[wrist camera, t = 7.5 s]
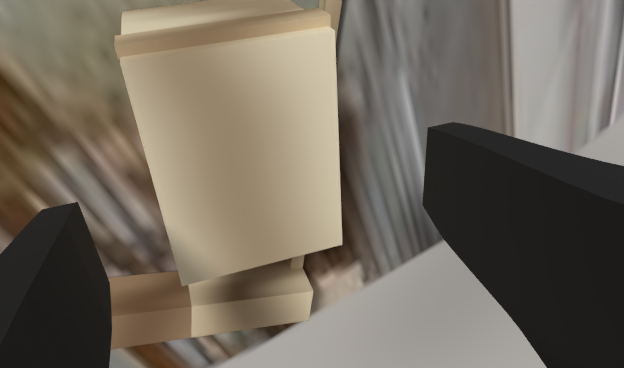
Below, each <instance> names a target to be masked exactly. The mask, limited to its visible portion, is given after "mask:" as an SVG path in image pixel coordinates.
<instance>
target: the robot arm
mask: <svg viewBox="0 0 624 368" xmlns="http://www.w3.org/2000/svg"><path fill="white" fill-rule="evenodd" d="M423 207H424V208H425V210H426V212H427V213H428V215H429V217H430V218H431V220H432V222H433V223H434V225H435V226H436V228H437V229H438V231H439V232H440V234H441V235H442V237H443V238H444V240H445V241H446V242H447V244H448V245H449V246H450V247H451V248H452V250H453V251H454V252H455V253H456V254H457V255H458V257H459V258H460V259H461V260H462V261H463V262H464V264H465V265H466V266H467V267H468V268H469V269H470V271H471V272H472V273H473V274H474V275H475V276H476V278H477V279H478V280H479V281H480V282H481V283H482V284H483V286H484V287H485V288H486V289H487V290H488V291H489V293H490V294H491V295H492V296H493V297H494V298H495V299H496V301H497V302H498V303H499V304H500V305H501V306H502V307H503V309H504V310H505V311H506V312H507V313H508V315H509V316H510V317H511V318H512V320H513V321H514V322H515V323H516V325H517V326H518V327H519V328H520V330H521V331H522V332H523V334H524V335H525V337H526V338H527V340H528V341H529V342H530V344H531V345H532V347H533V348H534V350H535V351H536V352H537V354H538V355H539V357H540V358H541V360H542V361H543V362H544V364H545V365H546V367H547V368H624V166H620V165H616V164H611V163H607V162H602V161H599V160H594V159H590V158H586V157H582V156H578V155H574V154H571V153H567V152H563V151H559V150H556V149H552V148H549V147H545V146H542V145H538V144H535V143H531V142H528V141H524V140H521V139H518V138H514V137H511V136H507V135H504V134H500V133H497V132H493V131H490V130H486V129H482V128H479V127H475V126H470V125H466V124H461V123H454V122H452V123H447V124H442V125H438V126H433V127H428V133H427V147H426V162H425V176H424V191H423ZM111 338H112V312H111V294H110V282H109V280H108V277H107V275H106V272H105V270H104V267H103V265H102V262H101V260H100V257H99V255H98V252H97V250H96V247H95V245H94V242H93V240H92V237H91V235H90V232H89V229H88V227H87V224H86V222H85V219H84V217H83V214H82V212H81V209H80V207H79V204H78V202H75V203H71V204H66V205H61V206H57V207H52V208H47V209H42V210H41V211H40V212H39V213H38V214H37V215H36V216H35V217H34V218H33V219H32V220H31V221H30V222H29V223H28V224H27V226H26V227H25V228H24V229H23V230H22V231H21V232H20V233H19V234H18V235H17V237H16V238H15V239H14V240H13V241H12V242H11V243H10V244H9V245H8V247H7V248H6V249H5V250H4V251H3V252H2V253H1V254H0V368H109V361H110V350H111Z"/></svg>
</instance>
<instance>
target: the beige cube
mask: <svg viewBox="0 0 624 368" xmlns="http://www.w3.org/2000/svg"><path fill="white" fill-rule="evenodd" d="M114 46H115V50H116V53H117V57H118V60H120V65H121V68H122V72H123V75H124V79H125V83H126V86H127V90H128V93H129V97H130V101H131V104H132V108H133V111H134V115H135V119H136V122H137V126H138V129H139V133H140V137H141V140H142V144H143V147H144V151H145V155H146V158H147V162H148V165H149V169H150V173H151V176H152V180H153V183H154V187H155V191H156V194H157V198H158V201H159V205H160V209H161V212H162V216H163V219H164V223H165V227H166V230H167V234H168V237H169V241H170V245H171V248H172V252H173V255H174V259H175V263H176V266H177V270H178V276H179V279H180V283H181V284H182V286H185V285H189V284H193V283H197V282H201V281H205V280H208V279H212V278H216V277H220V276H224V275H228V274H231V273H235V272H239V271H243V270H247V269H251V268H255V267H258V266H262V265H266V264H270V263H274V262H278V261H281V260H285V259H289V258H293V257H297V256H301V255H304V254H308V253H312V252H316V251H320V250H324V249H328V248H331V247H335V246H339V245H342V217H341V189H340V160H339V132H338V103H337V74H336V46H335V30H333V29H332V28H331V17H330V14H329V13H327V12H325V11H324V10H322V9H320V8H312V9H302V8H301V7H300V6H298V5H297V4H295V3H294V2H292V1H291V0H210V1H202V2H194V3H187V4H179V5H171V6H163V7H155V8H147V9H139V10H132V11H124V12H122V26H121V35H116V36H115V43H114Z"/></svg>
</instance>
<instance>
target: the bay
mask: <svg viewBox="0 0 624 368" xmlns="http://www.w3.org/2000/svg"><path fill="white" fill-rule="evenodd" d="M341 5H342V0H320V1H319V8H320V9H322V10H324V11H325V12H327V13H329V14H330V17H331V28H332V29H333V30H335V45H336V38H337V32H338V25H339V18H340V11H341ZM304 255H305V254H304ZM304 255H301V256H297V257H293V258H289V259H287V260H281V261H278V262H274V263H270V264H266V265H262V266H258V267H255V268H251V269H247V270H243V271H239V272H235V273H231V274H228V275H224V276H220V277H216V278H212V279H208V280H205V281H201V282H197V283H193V284H189V285H185V286H182V284H181V283H180V279H179V276H178V271H171V272H161V273H151V274H142V275H132V276H122V277H112V278H108V280H109V282H110V294H111V312H112V338H111V349H116V348H123V347H130V346H137V345H144V344H150V343H157V342H164V341H171V340H178V339H185V338H192V337H198V336H205V335H212V334H219V333H226V332H233V331H239V330H246V329H253V328H260V327H267V326H274V325H280V324H287V323H294V322H301V321H308V320H309V315H310V309H311V303H312V297H313V289H312V287H311V285H310V283H309V280H308V278H307V276H306V274H305V272H304V270H303V262H304Z"/></svg>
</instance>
